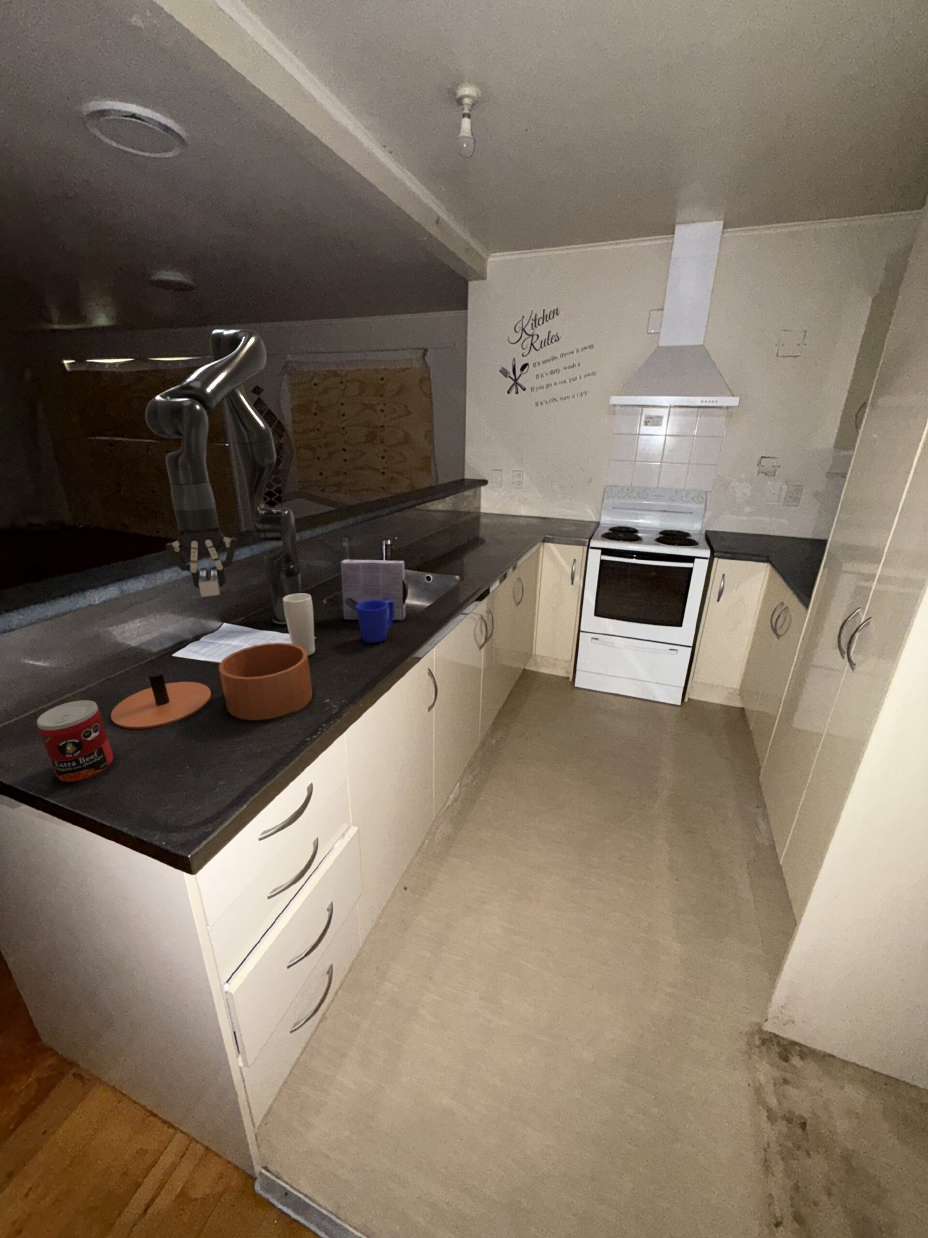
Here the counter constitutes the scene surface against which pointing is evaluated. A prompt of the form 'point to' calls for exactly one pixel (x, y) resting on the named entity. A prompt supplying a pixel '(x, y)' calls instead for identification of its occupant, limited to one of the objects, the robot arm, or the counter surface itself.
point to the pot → (266, 681)
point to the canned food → (75, 740)
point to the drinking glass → (300, 620)
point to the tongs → (209, 583)
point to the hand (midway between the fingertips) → (210, 586)
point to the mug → (374, 619)
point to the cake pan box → (373, 585)
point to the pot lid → (160, 703)
